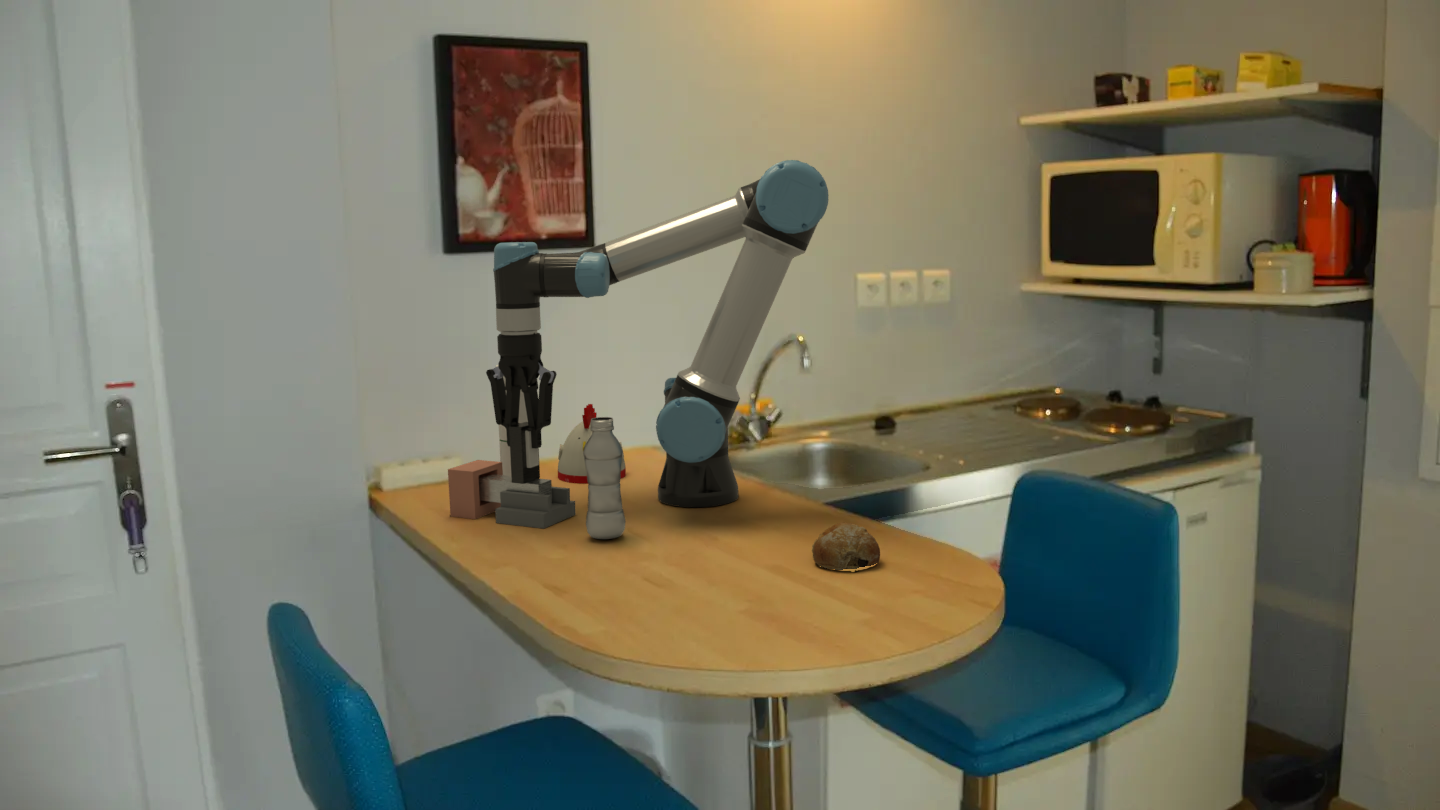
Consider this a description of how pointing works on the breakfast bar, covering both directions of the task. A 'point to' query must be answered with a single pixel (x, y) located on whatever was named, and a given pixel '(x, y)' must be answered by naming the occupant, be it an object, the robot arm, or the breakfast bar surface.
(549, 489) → the black and grey block
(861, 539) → the bread roll
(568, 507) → the grey stepped base
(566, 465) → the kitchen timer
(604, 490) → the plastic bottle
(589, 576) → the breakfast bar surface
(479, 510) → the socket block
